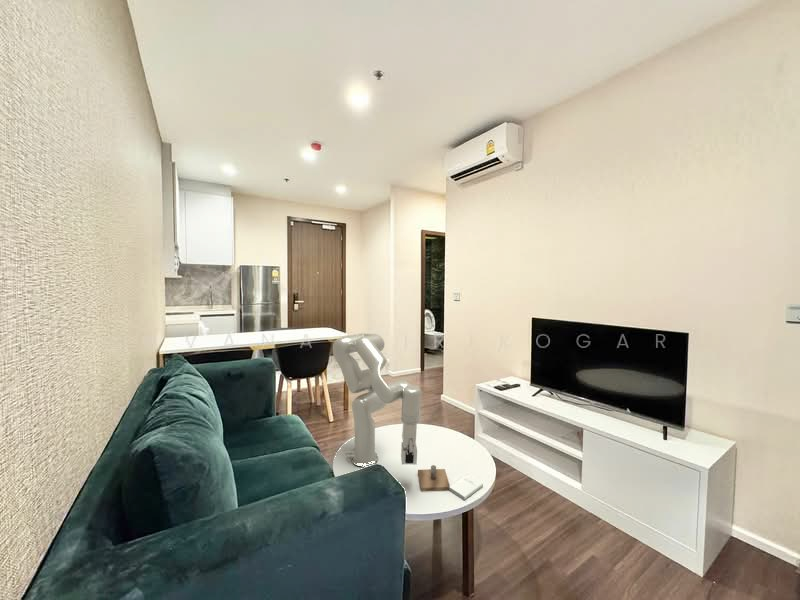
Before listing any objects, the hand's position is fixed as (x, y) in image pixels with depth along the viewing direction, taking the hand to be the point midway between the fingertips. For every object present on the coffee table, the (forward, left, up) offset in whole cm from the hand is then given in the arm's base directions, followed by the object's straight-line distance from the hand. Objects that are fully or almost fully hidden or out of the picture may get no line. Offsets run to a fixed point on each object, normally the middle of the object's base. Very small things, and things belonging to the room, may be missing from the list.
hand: (408, 457), depth 134 cm
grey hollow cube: (0, 0, -1) cm, 1 cm away
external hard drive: (+23, -3, -13) cm, 27 cm away
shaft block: (+11, +2, -12) cm, 17 cm away
